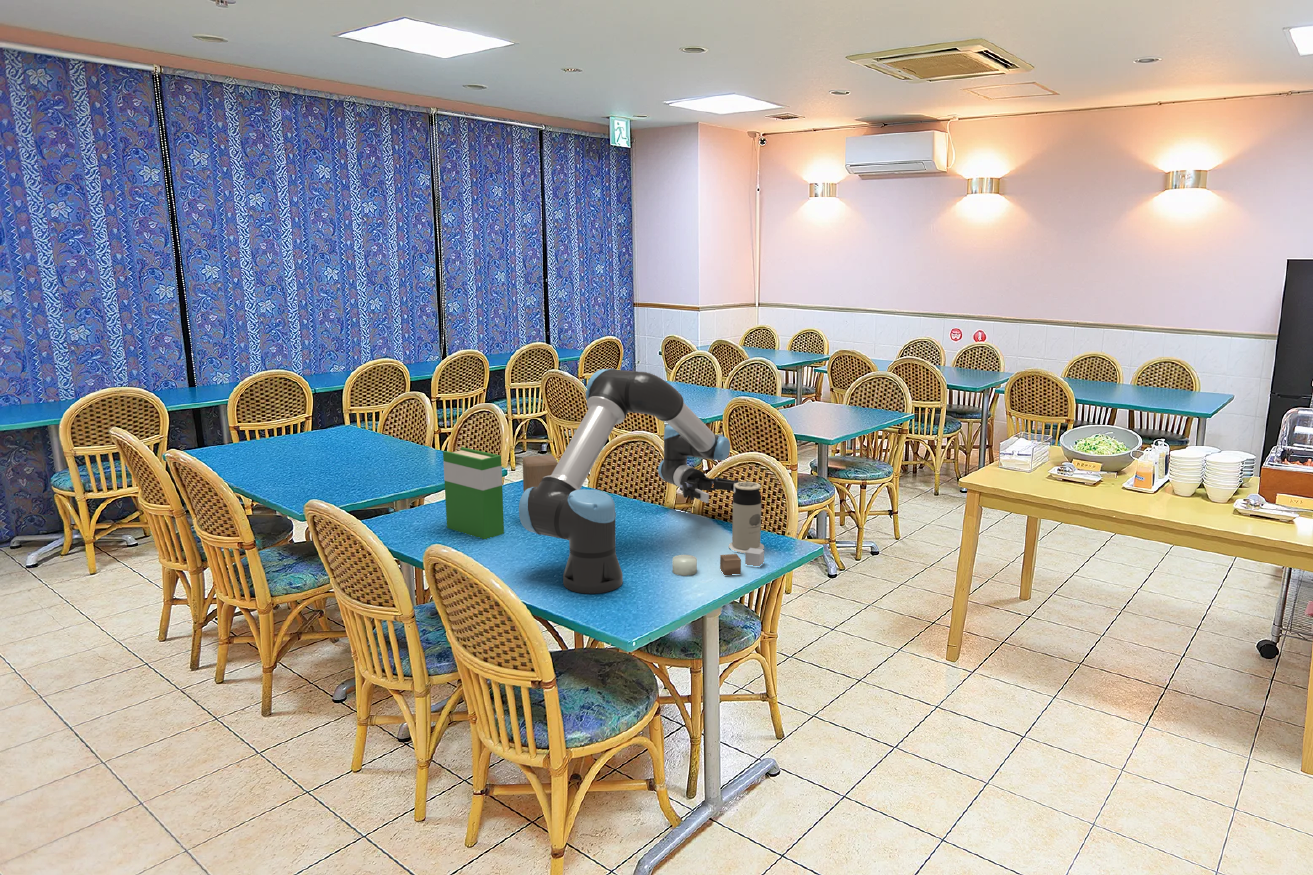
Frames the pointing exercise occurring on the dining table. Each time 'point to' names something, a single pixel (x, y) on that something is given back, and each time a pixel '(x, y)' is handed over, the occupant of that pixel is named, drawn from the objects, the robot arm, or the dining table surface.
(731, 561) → the walnut block
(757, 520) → the travel mug
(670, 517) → the dining table surface
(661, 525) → the dining table surface
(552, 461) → the block
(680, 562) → the beige rounded cylinder
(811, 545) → the dining table surface
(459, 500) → the hardback book
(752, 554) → the grey cube
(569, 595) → the dining table surface
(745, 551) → the saucer
